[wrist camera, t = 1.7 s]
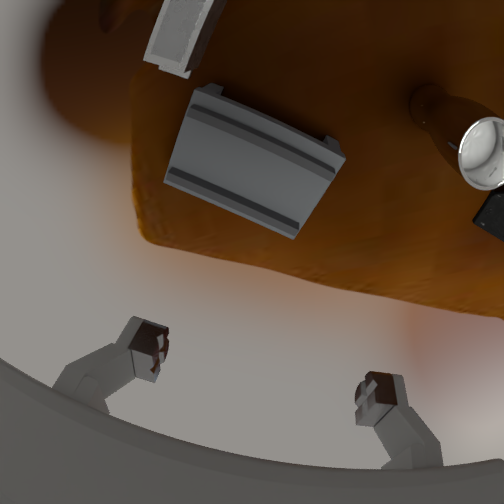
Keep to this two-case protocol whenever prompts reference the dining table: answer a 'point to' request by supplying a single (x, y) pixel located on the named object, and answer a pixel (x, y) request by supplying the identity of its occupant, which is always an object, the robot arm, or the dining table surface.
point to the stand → (251, 162)
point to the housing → (183, 34)
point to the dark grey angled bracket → (492, 215)
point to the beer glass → (462, 134)
